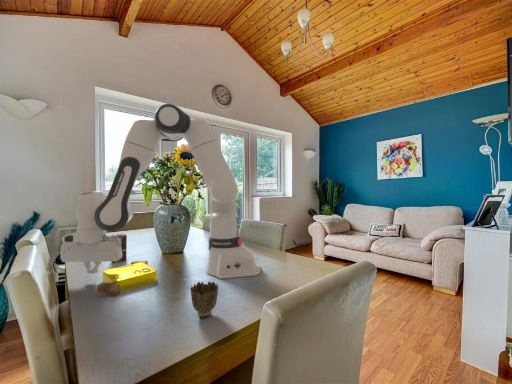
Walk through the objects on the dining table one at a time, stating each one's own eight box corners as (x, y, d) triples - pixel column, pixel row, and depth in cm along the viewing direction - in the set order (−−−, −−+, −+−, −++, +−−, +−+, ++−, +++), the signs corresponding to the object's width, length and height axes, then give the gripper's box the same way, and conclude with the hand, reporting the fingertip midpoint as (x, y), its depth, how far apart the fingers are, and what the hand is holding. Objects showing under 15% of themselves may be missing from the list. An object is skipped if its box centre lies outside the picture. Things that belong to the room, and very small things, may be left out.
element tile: (143, 271, 101) (142, 260, 101) (159, 281, 90) (158, 269, 90) (101, 282, 90) (101, 269, 90) (113, 294, 80) (113, 280, 79)
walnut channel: (147, 269, 103) (147, 261, 102) (116, 296, 78) (116, 285, 78) (133, 269, 102) (133, 261, 102) (96, 296, 77) (96, 285, 77)
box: (112, 262, 111) (111, 236, 110) (111, 260, 114) (111, 234, 114) (127, 260, 114) (126, 235, 114) (126, 258, 118) (125, 233, 117)
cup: (219, 308, 70) (219, 280, 70) (216, 322, 63) (216, 292, 63) (193, 308, 70) (193, 281, 70) (187, 323, 63) (187, 292, 62)
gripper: (125, 233, 93) (125, 269, 93) (69, 234, 92) (70, 270, 92) (116, 237, 86) (117, 275, 87) (56, 237, 85) (57, 276, 86)
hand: (92, 273), depth 89 cm, fingers closed
